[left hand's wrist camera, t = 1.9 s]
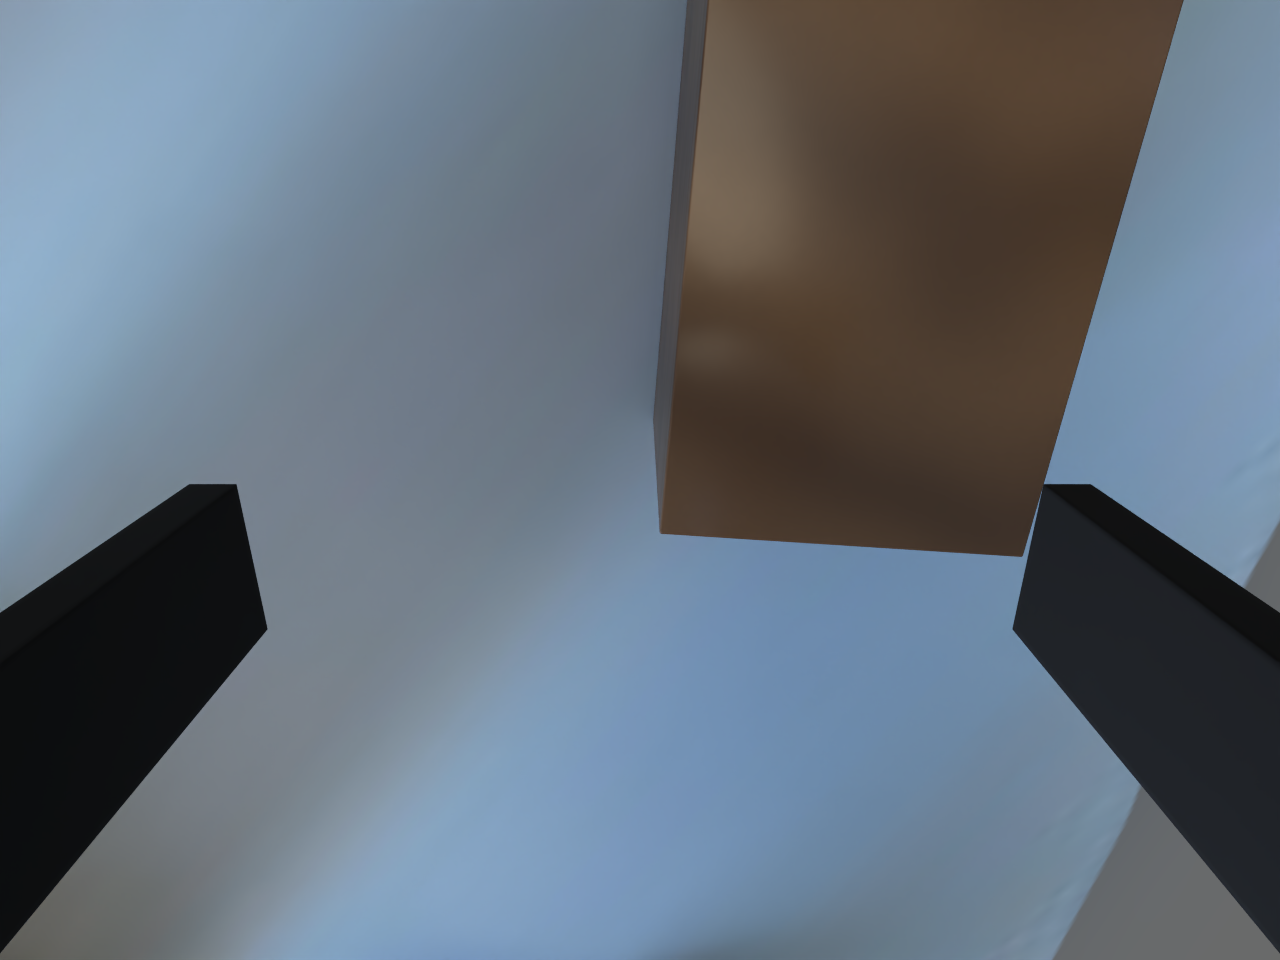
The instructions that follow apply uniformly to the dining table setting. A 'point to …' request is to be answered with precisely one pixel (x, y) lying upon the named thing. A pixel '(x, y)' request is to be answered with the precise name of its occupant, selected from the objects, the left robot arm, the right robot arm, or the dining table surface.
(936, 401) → the wooden drawer box
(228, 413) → the dining table surface
